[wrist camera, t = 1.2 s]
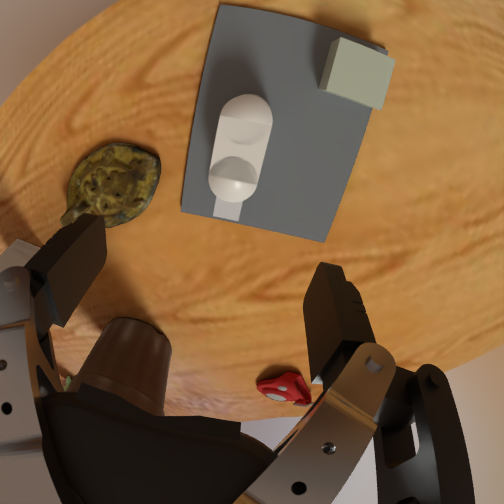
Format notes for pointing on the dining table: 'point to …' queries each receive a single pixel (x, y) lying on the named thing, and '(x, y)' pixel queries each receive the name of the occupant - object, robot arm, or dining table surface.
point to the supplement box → (17, 254)
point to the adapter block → (357, 73)
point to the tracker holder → (287, 389)
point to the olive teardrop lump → (113, 184)
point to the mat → (278, 121)
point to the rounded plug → (239, 152)
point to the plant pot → (129, 364)
